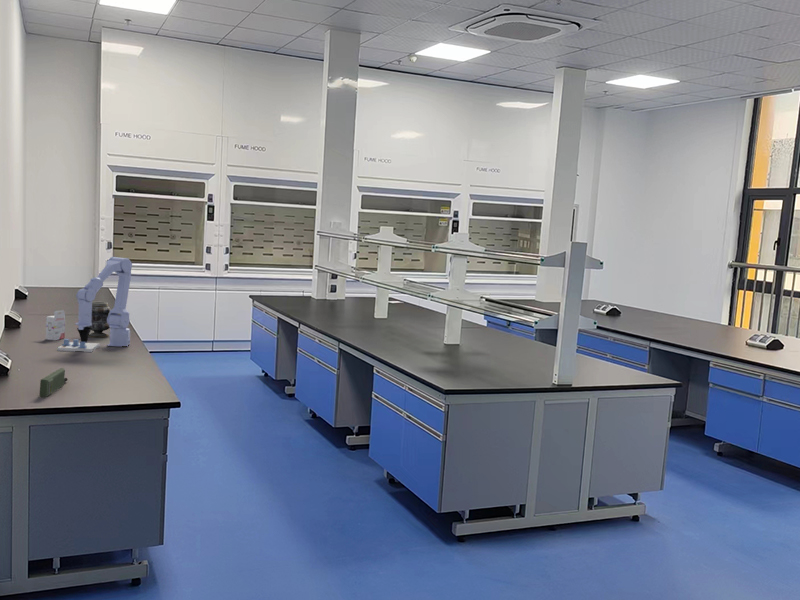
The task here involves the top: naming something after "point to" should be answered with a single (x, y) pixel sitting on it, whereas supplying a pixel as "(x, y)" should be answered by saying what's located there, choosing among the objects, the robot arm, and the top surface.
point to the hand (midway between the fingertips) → (84, 342)
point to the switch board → (75, 348)
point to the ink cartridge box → (55, 326)
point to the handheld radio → (52, 382)
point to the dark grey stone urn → (99, 319)
